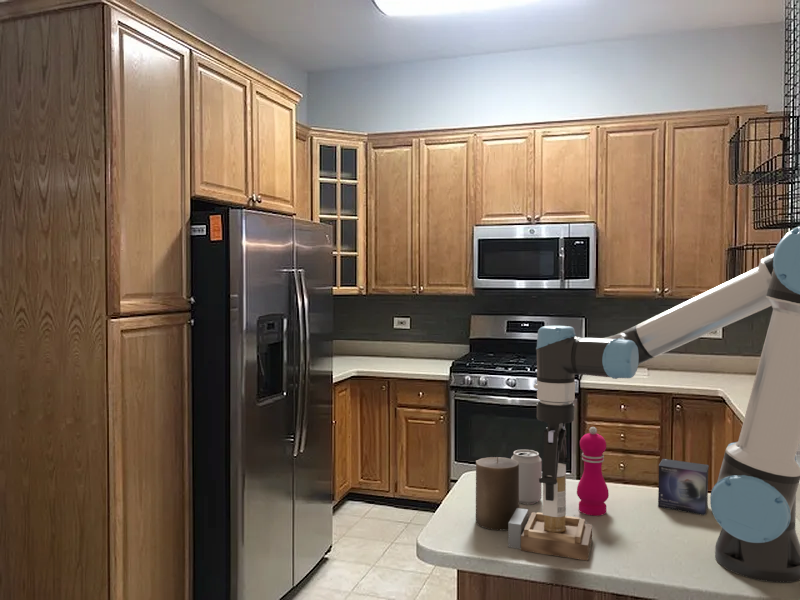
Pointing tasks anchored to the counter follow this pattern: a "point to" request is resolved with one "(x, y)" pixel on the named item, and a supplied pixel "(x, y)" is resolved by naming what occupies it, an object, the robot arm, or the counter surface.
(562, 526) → the sprinkles bottle
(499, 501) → the pillar candle
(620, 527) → the counter surface
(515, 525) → the backstop wall
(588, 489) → the pepper mill
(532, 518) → the socket block
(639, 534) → the counter surface
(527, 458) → the can
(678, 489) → the small box
